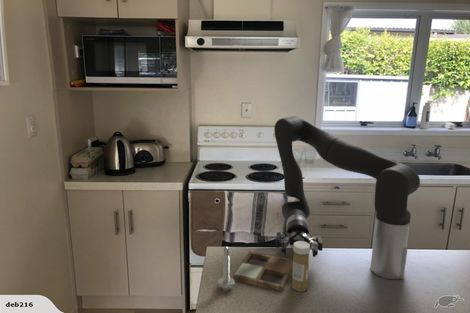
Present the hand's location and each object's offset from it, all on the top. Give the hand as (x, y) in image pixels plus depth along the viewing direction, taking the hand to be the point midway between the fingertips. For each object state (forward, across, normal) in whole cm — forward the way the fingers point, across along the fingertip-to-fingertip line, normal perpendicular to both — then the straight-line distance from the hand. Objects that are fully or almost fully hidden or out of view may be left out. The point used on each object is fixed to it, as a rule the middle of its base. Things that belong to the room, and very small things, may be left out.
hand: (299, 252), depth 100 cm
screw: (+9, -20, +8) cm, 24 cm away
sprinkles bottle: (+5, 0, +8) cm, 10 cm away
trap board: (-1, -10, +8) cm, 13 cm away
